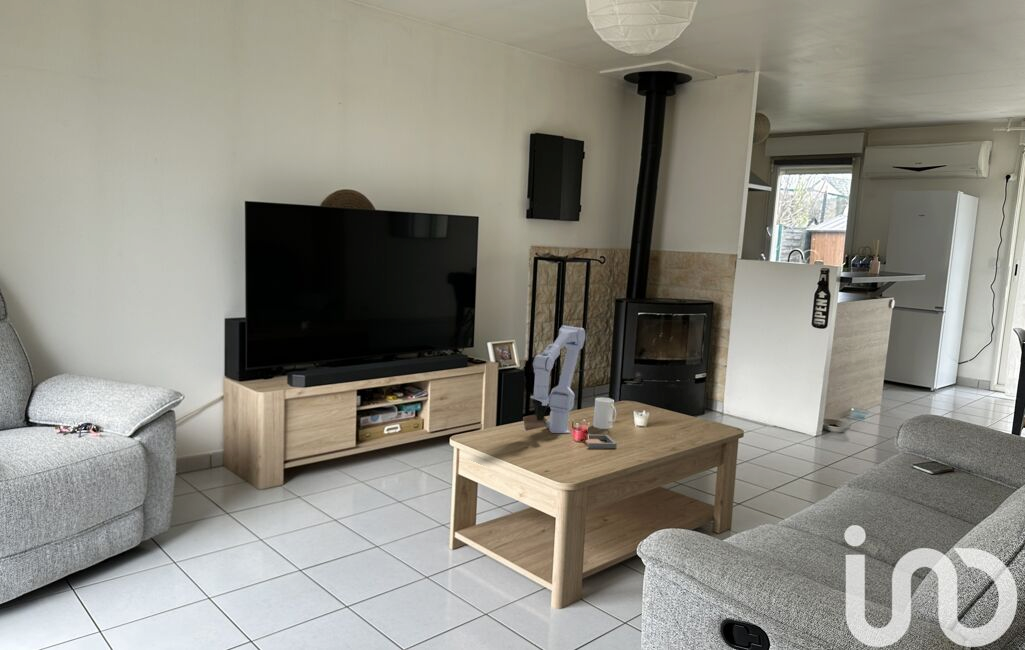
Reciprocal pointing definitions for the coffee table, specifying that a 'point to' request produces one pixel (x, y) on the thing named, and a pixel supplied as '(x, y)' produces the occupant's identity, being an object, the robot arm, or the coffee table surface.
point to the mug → (604, 413)
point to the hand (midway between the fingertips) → (539, 419)
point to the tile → (592, 441)
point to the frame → (609, 443)
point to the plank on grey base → (535, 422)
